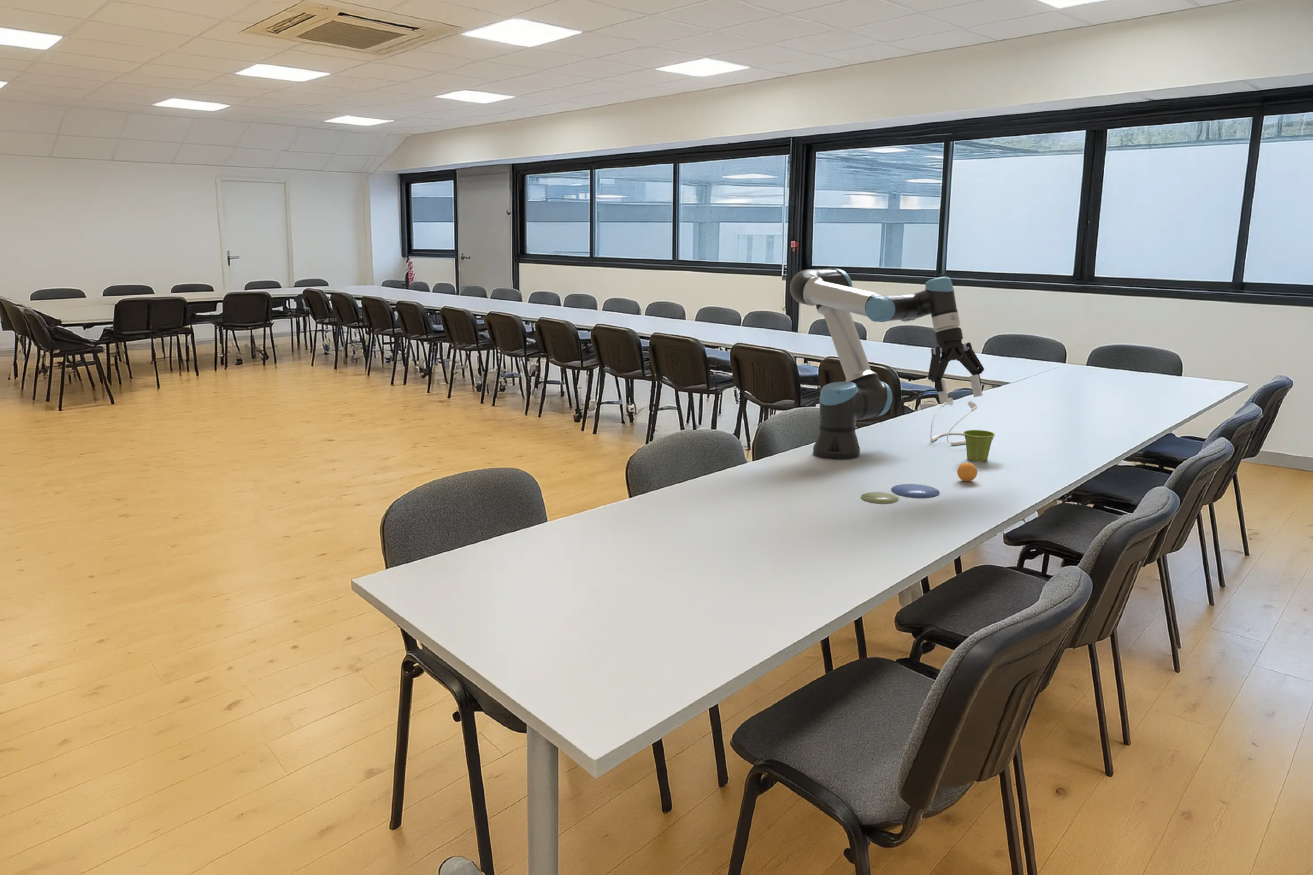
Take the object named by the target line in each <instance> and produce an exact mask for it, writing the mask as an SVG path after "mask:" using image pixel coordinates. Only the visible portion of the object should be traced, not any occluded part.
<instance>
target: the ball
mask: <svg viewBox="0 0 1313 875" xmlns="http://www.w3.org/2000/svg"><path fill="white" fill-rule="evenodd" d="M956 473H957V477H958V478H959V479H960V480H961V481H963V482H972V481H974V480H975V479H976V477H977V476H978V468H977V467H976V465H974V464H973V463H971V462H963V463H961V464H960V465H959V466H958V468H957V470H956Z"/></svg>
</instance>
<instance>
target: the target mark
mask: <svg viewBox="0 0 1313 875" xmlns="http://www.w3.org/2000/svg"><path fill="white" fill-rule="evenodd" d="M890 489H891V490H890V491H891V493H893V494H894V495H895V494H896V496H897V495H898V496H901V497H905V498H912V499H913V498H914V499H928V498H934V497H937V496H939V495H940V491H939V489H938V488H935V487H933V486H930V485H925V484H924V485H923V484H916V483H903V484H896V485H894V486H892V487H891V488H890Z"/></svg>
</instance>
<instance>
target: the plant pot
mask: <svg viewBox="0 0 1313 875" xmlns="http://www.w3.org/2000/svg"><path fill="white" fill-rule="evenodd" d="M962 433H963V434H964V435H963V436H964V438H965V441H966V444H965V447H966V448H965V450H966V459H967V460H968V461H972V462H977V463H978V462H984V461H988V457H989V454H990V453H989V452H990V450H991V445H992V442H993V441H994V440H993V439H994V437H995V436H996V434H995V432H992V431H988V430H983V429H968V430H965V431H963V432H962Z"/></svg>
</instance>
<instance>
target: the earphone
mask: <svg viewBox="0 0 1313 875" xmlns="http://www.w3.org/2000/svg"><path fill="white" fill-rule="evenodd" d="M948 400H949V402H944V403H941V406H940V407H939V408H938V410H937V411H936V413H935V414H934V416H933V418H932V421H931V425H930V433H929V434H930V436H929V437H930V439H929V440H930V442H931V443H933V442H935V441H937V439H939V438H940V437H943V436H946V441H947V443H949V444H950V445H951V446H958V445H960V444H961V445H966V439H965V440H963V439H962V440H955V441H954V440H953V441H951V442H949V436H950V435H955V434H957V435H958V436H959V435H960V436H965V435H964V434H963V432H954V431H953V432H952V430H953V429H954V428H955V426H957V425H958V424H960V422H961V421H962V420H963V419H965V418H966V417H967V416H968V415H970V413H972V412H974V411H975V410H977V409H978V405H977V403H976V402H975V401H974V402H973V401H972V400H969V401H968V402H967V406H969V408H970V411H969V412H968V413H967V414H966V415H964V416H963V417H962V418H960V420H958V421H957V422H956V423H955V424H954V425H953V426H952V427H951V428H950V429H949V431H948V432H943V433H940V434H938V435H937V434H935V435H934V436H932V432H933V423H934V420H935V417H936V416H937V414H938V412H939V411H940V410H941V409H942V408H944V407H945V406H946V405H949V406H951V407H952V406H953V404H954V399H953V398H952V397H948ZM949 434H950V435H949Z"/></svg>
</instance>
